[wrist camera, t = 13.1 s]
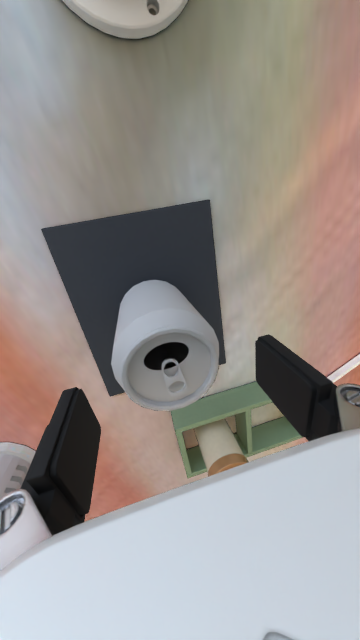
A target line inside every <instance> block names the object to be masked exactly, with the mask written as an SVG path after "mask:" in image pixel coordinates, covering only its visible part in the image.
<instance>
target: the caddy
mask: <svg viewBox="0 0 360 640" xmlns="http://www.w3.org/2000/svg"><path fill="white" fill-rule="evenodd" d="M269 403H273V402H272V400H271V399H270V398H269V397H268V396H267V394H266V393H265V392H264V391H263V389H262V388H261V387H260V386H259V385H258V383H257V381H256V382H253V383H250V384H246V385H243V386H240V387H237V388H233V389H230V390H227V391H224V392H220V393H217V394H214V395H211V396H207V397H204V398H201V399H198V400H197V401H196V402H194V403H192V404H190V405H188V406H186V407H184V408H180V409H176V410H172V411H171V415H172V420H173V424H174V428H175V432H176V436H177V440H178V444H179V448H180V451H181V455H182V459H183V463H184V466H185V470H186V474H187V478H190V477H193V476H196V475H199V474H202V473H204V472H207V469H206V466H205V463H204V460H203V457H202V454H201V450H200V447H199V446H196V447H193V448H190V449H187V450H186V447H185V443H184V439H183V435H182V432H183V431H186V430H190V429H193V428H196V427H199V426H202V425H205V424H208V423H211V422H214V421H217V420H220V419H223V418H226V417H229V416H233V415H235V418H236V430H237V433H235V434H233V435H234V436H235V438H236V440H237V442H238V444H239V446H240V448H241V450H242V452H243V454H244V456H245V457H249V456H252V455H255V454H258V453H260V452H263V451H266V450H269V449H272V448H274V447H277V446H280V445H283V444H286V443H288V442H291V441H294V440H297V439H300V438H302V436H301V435H300V434H299V433H298V432H297V431H296V429H295V428H294V427H293V426H292V425H291V423H290V422H289V421H288V420H287V419H286V417H282V418H279V419H276V420H273V421H270V422H267V423H264V424H261V425H258V426H255V427H252V428H251V409H254V408H257V407H260V406H263V405H266V404H269Z"/></svg>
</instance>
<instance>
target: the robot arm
mask: <svg viewBox="0 0 360 640" xmlns="http://www.w3.org/2000/svg"><path fill="white" fill-rule="evenodd" d="M62 1H63V2H64V3H65V4H66V5H67V6H68V7H69V8H70V9H71V10H72V11H73V12H74V13H76V14H77V15H78V16H79V17H81V18H82V19H83V20H84V21H85V22H87V23H88V24H90V25H92V26H93V27H95V28H97V29H99V30H101V31H102V32H104V33H107V34H110V35H113V36H117V37H120V38H132V39H139V38H143V37H147V36H151V35H154V34H156V33H158V32H159V31H161V30H163V29H165V28H166V27H168V26H169V25H170V24H171V23H172V22H173V21H174V20H175V19H176V18H177V17H178V16H179V14H180V13H181V11H182V10H183V8H184V7H185V5H186V3H187V2H188V0H62ZM255 344H256V381H257V383H258V385H259V386H260V387H261V388H262V389H263V391H264V392H265V393H266V394H267V396H268V397H269V398H270V399H271V400H272V402H273V403H274V404H275V405H276V406H277V408H278V409H279V410H280V411H281V413H282V414H283V415H284V416H285V417H286V419H287V420H288V421H289V422H290V423H291V425H292V426H293V427H294V428H295V429H296V431H297V432H298V433H299V434H300V435H301V436H302V437H306V439H307V440H308V441H309V442H306V443H303V444H300V445H297V446H294V447H291V448H288V449H285V450H282V451H280V452H277V453H274V454H271V455H268V456H265V457H262V458H259V459H257V460H254V461H251V462H248V463H245V464H242V465H240V466H237V467H234V468H231V469H228V470H225V471H223V472H220V473H217V474H214V475H211V476H209V477H206V478H203V479H200V480H197V481H195V482H192V483H189V484H186V485H183V486H181V487H178V488H175V489H172V490H169V491H167V492H164V493H161V494H158V495H156V496H153V497H150V498H147V499H145V500H142V501H139V502H136V503H134V504H131V505H128V506H125V507H123V508H120V509H117V510H115V511H112V512H109V513H107V514H104V515H101V516H99V517H96V518H94V519H91V520H88V521H86V522H84V519H85V514H87V513H88V512H89V510H90V504H91V497H92V490H93V483H94V476H95V469H96V462H97V455H98V449H99V442H100V435H101V427H100V424H99V422H98V420H97V418H96V416H95V414H94V412H93V410H92V408H91V406H90V404H89V402H88V400H87V398H86V396H85V394H84V392H83V390H82V389H78V388H77V387H75V388H71V389H68V390H64V391H63V392H62V395H61V397H60V399H59V402H58V404H57V407H56V409H55V411H54V414H53V416H52V419H51V421H50V423H49V425H48V426H47V427H46V429H45V431H44V434H43V436H42V439H41V441H40V443H39V446H38V448H37V450H36V453H35V455H34V457H33V460H32V462H31V465H30V467H29V469H28V472H27V474H26V476H25V479H24V481H23V483H22V486H21V488H20V489H17V490H14V491H12V492H10V493H8V494H6V495H5V496H3V497H2V498H1V499H0V640H360V385H357V384H350V383H347V384H341V385H339V386H338V387H337V386H336V385H334V384H333V382H332V381H331V380H329V379H328V378H327V377H325V376H324V375H323V374H321V373H320V372H319V371H317V370H316V369H315V368H314V367H312V366H311V365H310V364H308V363H307V362H306V361H304V360H303V359H302V358H300V357H299V356H298V355H296V354H295V353H294V352H292V351H291V350H290V349H288V348H287V347H286V346H284V345H283V344H282V343H280V342H279V341H278V340H276V339H275V338H274V337H272V336H271V335H265V336H261V337H259V338H258V340H257V341H256V343H255Z"/></svg>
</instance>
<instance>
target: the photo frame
mask: <svg viewBox="0 0 360 640" xmlns="http://www.w3.org/2000/svg"><path fill="white" fill-rule="evenodd" d="M359 364H360V354H359V355H357V356H356V357H355V358H353V359H352V360H350V361H349V362H348V363H346V364H345V365H343V366H342V367H341V368H339V369H338V370H336V371H335V372H334V373H332V374H331V375H329V376H328V377H327V378H328V379H329V380H331V381H332V382H333V383H334V382H335V381H337V380H338V379H339V378H341V377H342V376H344V375H345V374H346V373H348V372H349V371H351V370H352V369H353V368H355V367H356V366H358V365H359Z"/></svg>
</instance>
